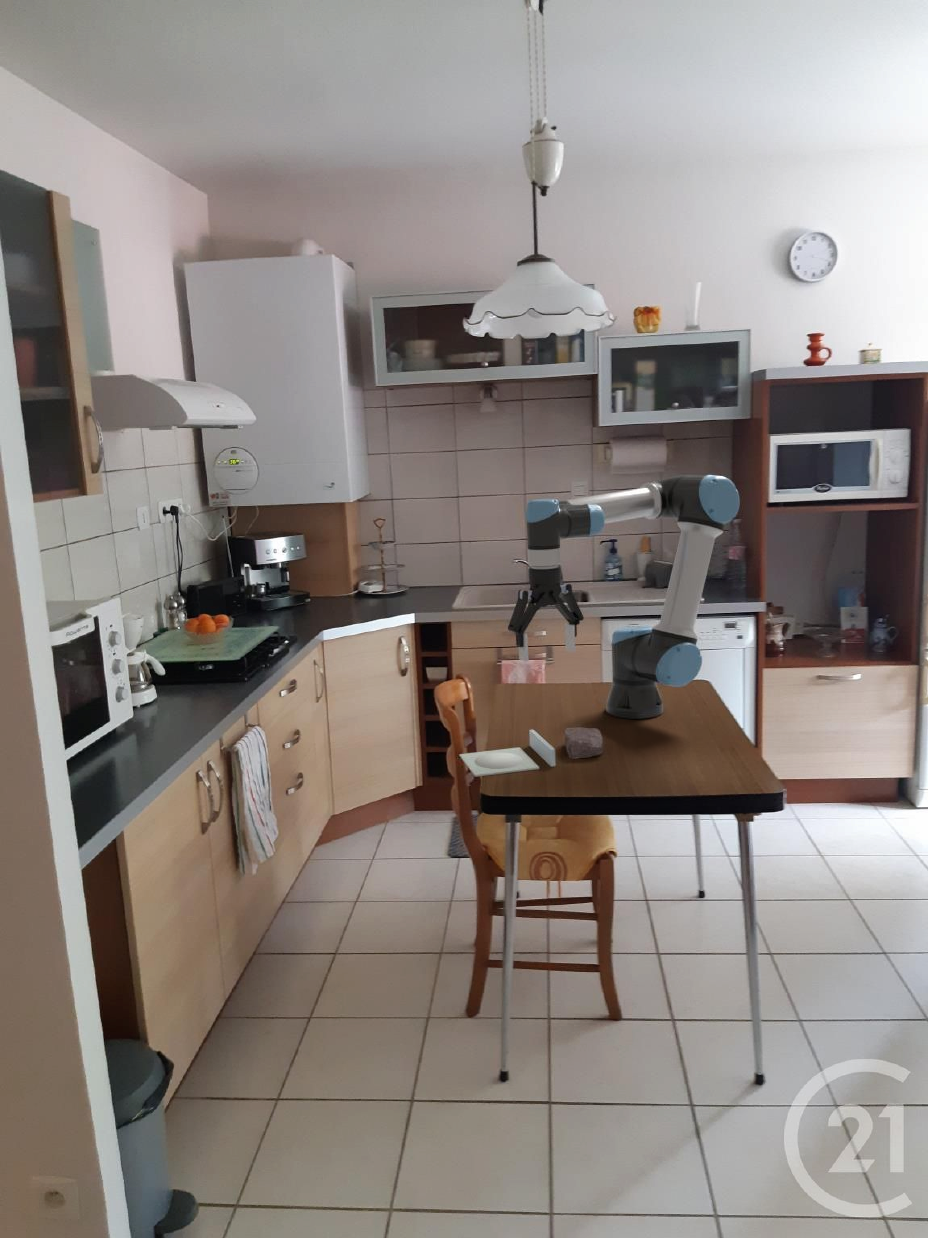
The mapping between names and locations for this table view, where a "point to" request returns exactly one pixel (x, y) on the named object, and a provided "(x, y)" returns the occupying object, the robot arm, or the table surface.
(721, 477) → the robot arm
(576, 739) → the stone
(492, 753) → the rest mat
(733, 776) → the table surface
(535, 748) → the acrylic wall
